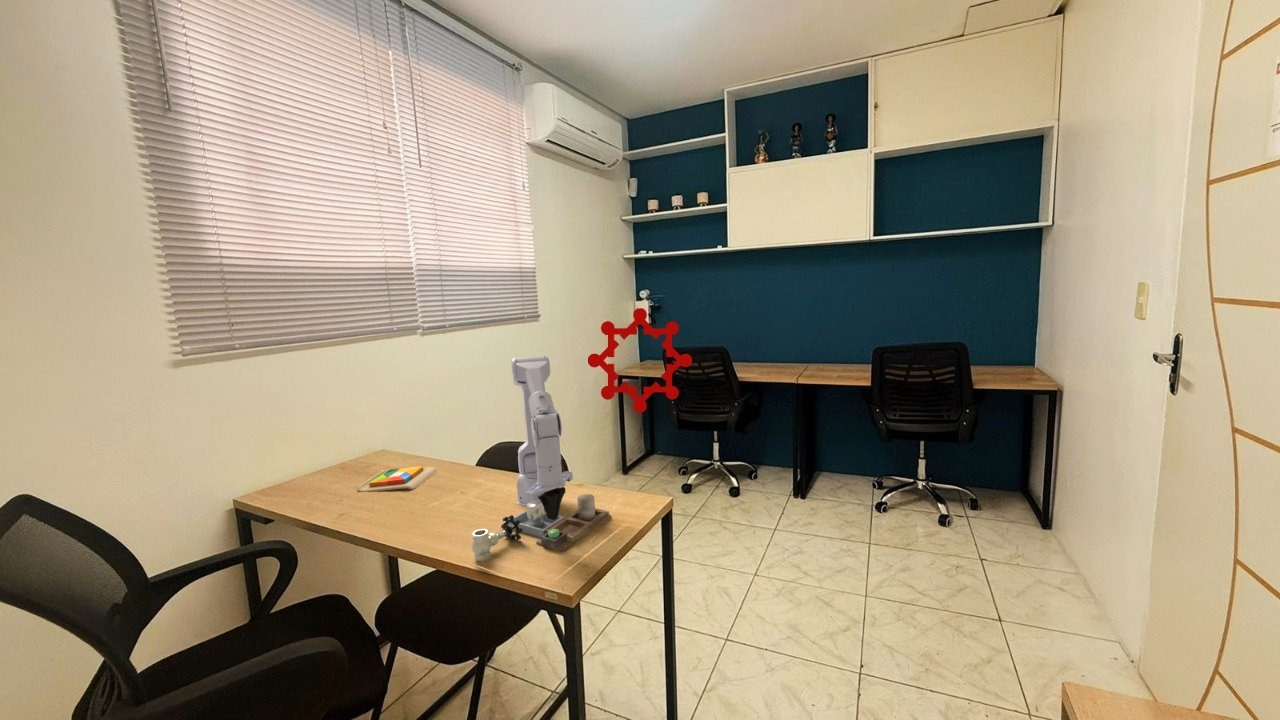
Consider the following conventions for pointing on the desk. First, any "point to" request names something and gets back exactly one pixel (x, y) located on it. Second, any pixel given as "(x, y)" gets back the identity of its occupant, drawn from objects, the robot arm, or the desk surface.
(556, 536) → the button
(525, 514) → the tote
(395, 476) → the wooden puzzle
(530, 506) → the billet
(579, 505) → the brown compartment tray
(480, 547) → the valve
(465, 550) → the desk surface
